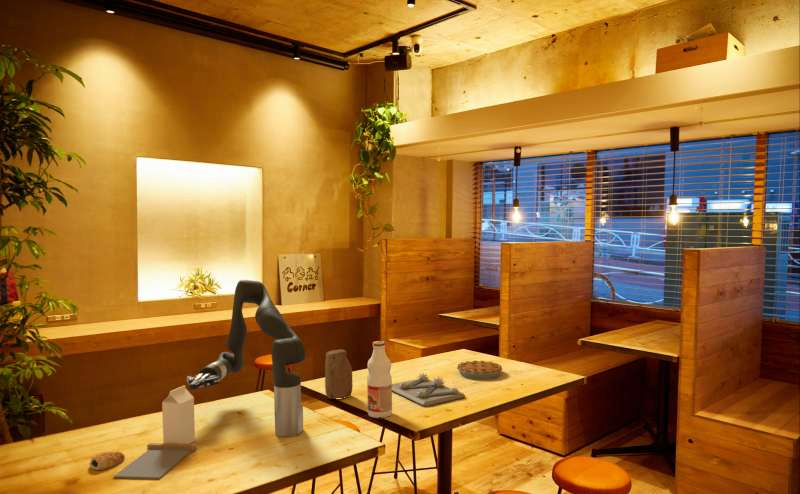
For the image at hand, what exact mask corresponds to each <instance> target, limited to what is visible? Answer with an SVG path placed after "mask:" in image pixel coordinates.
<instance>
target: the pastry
mask: <svg viewBox="0 0 800 494" xmlns="http://www.w3.org/2000/svg"><path fill="white" fill-rule="evenodd" d="M125 458H126V457H125V454H124V453H123V452H120V451H116V452H114V451H111V452H110V451H109V452H103V453H101V454H97V455H96V454H95V456H93V457H91V459H90V460H89V461H90V462H89V466H90V468H91V469H93V470H97V471H103V470H107V469H108V468H113V467H115V466H117V465H119V464H121V463H122V462H123V461H125Z"/></svg>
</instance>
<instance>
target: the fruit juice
mask: <svg viewBox="0 0 800 494" xmlns="http://www.w3.org/2000/svg"><path fill="white" fill-rule="evenodd" d="M372 347H373V350H372V354H371V357H370V358H369V359H368V361H367V366H366V367H367V371H368V375H367V379H366V380H367V381H366V382H367V383H366V386H367V389H366V390H367V393H366V394H367V414H368V416H369V417H371V418H374V419H380V418H379V417H385V418H388V417H387V416H389V417H391V415H392V414H393V391H392V384H393V382H392V380H393V379H392V374H391V370H392V361H391V359H389V357H388V356H387V353H386V350H385V349H386V348H385V347H386V342H385V341H384V340H382V341H381V340H376V341H373V342H372Z"/></svg>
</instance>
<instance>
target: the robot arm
mask: <svg viewBox="0 0 800 494" xmlns="http://www.w3.org/2000/svg"><path fill="white" fill-rule="evenodd" d="M267 290H268V289H267V288H266V286H265V285H264V283H262V281H257V280H248V279H240V280H238V281H237V284H236V286H235V291H234V294H233V295H234V297H233V303H232V314H231V322H230V328H229V332H228V335H227V338H226V344H225V346H226V348H227V349H228V350H229V351H231V352H232V353H231V352H228V351H224V352H223V351H222V352H221V353H219V356H218V358H217V360H216V361H214V362H211V363H208V364H207V365H206V366H205V367H202V368H201V369H200V371H199V372H198V374H196V375H194V376H191V375H187V376H186V383H187V385H188V386H189V390H190V391H195V390H196V389H199V388H202V387H203V388H207V387H212V386H215V385H219V384H220V381H221V380H223V379H224V378H225V377H226V376H228V375H229V373H234V374H238V373H239V372H241V371H242V369H243V367H244V363H245V362H244V348H245V347H244V345H245V344H246V343H245V342H246V338H247V334H248V327H247V326H248V325H247V323H246V321H245V318H244V314H243V307H244V304H255V305H257V309H256V311H255V313H254V314H255V315H254V317H255V318H254V320H255V323H256V324H257V325H258V328H259V329H260V330H261V331H262V333H263V334H265V335H267V337H268V336H269V337H271V338H272V339H274V340H273V342H272V345H271V352H270V353H271V363H272V364H271V365H272V378H273V395H274V396H273V401H274V403H273V405H274V433H275V435H276V436H278V437H282V438H288V437H289V438H290V437H295V436H296V437H297V436H300V435H301V434H302V432H303V431H304V404H303V403H302V390H301V389H302V381H301V380H302V377H301V375H300V374H298V373H296V372H291V371H288V370H286V366H291V365H296V364H300V363H302V362H303V361H305V359H306V356H307V354H306V348H305V345H304V343H303V341H302V340H301V338H300V337H299V336H298V334H296V332H295V331H294V330H293V329H292V328H291V327H290V325H289V324H288V322H287V321H286V320H285V318H284V317H283V315H282V313H281V312H280V311H279V309H278V308H277V307H276V305H275V303H274V302H273V300H272V299H271V297H270V295H269V292H268V291H267Z"/></svg>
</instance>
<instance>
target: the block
mask: <svg viewBox="0 0 800 494" xmlns="http://www.w3.org/2000/svg"><path fill="white" fill-rule="evenodd" d="M347 354H348V353H347V351H346V350H345V349H333V350H328V351H326V353H325V362H324V363H325V367H324V368H325V370H324V373H325V374H324V377H325V378H324V389H325V390H324V391H325V395H326V397H327V398H328V399H329V400H331V399H336V398H344V397H347V398H349V397H351V396H352V392H353V367H352V365H351V363H350V361H349V359H348V358H347ZM348 396H349V397H348ZM330 398H331V399H330ZM344 399H345V398H344Z"/></svg>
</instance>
